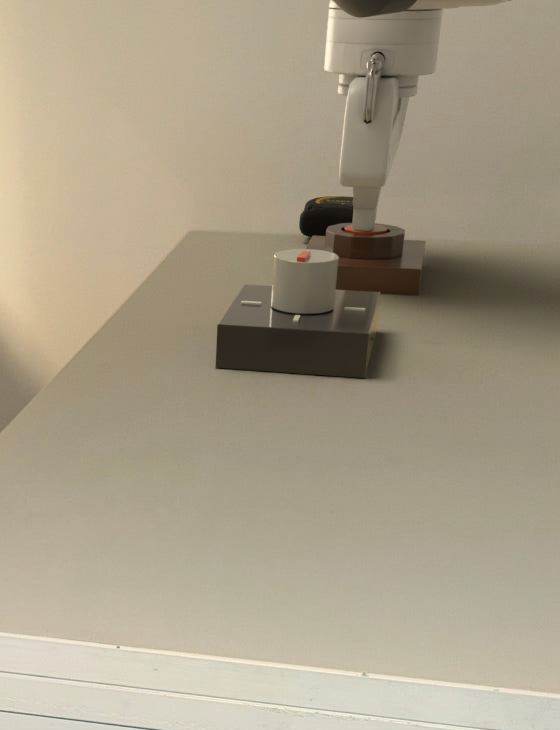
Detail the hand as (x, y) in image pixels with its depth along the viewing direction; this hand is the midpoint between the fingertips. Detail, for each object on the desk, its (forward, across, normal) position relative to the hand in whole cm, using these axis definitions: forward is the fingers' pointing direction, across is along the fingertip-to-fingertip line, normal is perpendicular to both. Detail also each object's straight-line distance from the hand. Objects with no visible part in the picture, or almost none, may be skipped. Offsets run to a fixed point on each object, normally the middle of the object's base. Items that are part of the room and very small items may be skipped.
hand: (363, 227), depth 111 cm
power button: (+2, 0, 0) cm, 2 cm away
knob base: (+4, -24, +2) cm, 25 cm away
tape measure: (+4, +15, +3) cm, 16 cm away
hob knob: (+1, -24, +3) cm, 24 cm away
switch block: (+4, 0, 0) cm, 4 cm away
